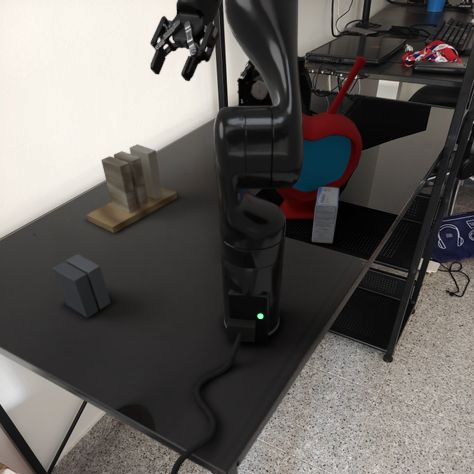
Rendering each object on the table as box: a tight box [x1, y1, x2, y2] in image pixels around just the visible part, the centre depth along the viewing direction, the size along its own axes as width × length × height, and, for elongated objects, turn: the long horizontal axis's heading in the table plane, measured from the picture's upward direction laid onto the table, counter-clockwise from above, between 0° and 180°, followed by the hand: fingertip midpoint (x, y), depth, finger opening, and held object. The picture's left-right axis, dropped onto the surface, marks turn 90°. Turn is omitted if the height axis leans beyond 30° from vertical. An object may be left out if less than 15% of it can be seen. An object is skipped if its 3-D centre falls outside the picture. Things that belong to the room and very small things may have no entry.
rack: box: [86, 150, 178, 234], centre depth 97 cm, size 20×9×12 cm, turn 142°
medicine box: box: [311, 187, 340, 245], centre depth 89 cm, size 8×4×9 cm, turn 169°
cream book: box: [129, 144, 162, 199], centre depth 99 cm, size 2×6×10 cm, turn 52°
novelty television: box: [275, 55, 367, 220], centre depth 89 cm, size 21×13×30 cm, turn 86°
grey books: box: [51, 253, 112, 319], centre depth 74 cm, size 5×6×8 cm
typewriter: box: [236, 55, 319, 116], centre depth 112 cm, size 31×27×25 cm
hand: (169, 75), depth 86 cm, fingers open, 8 cm apart
